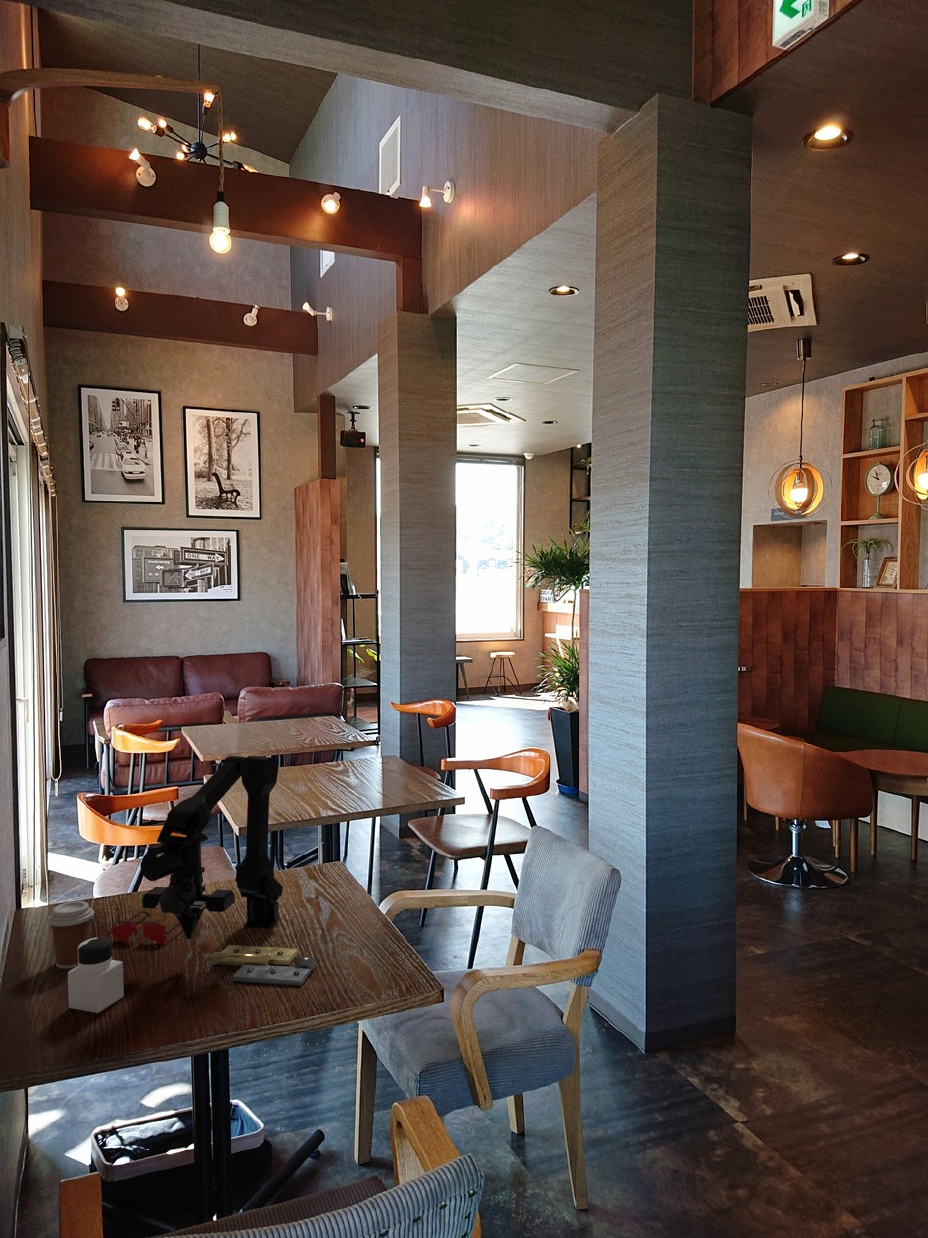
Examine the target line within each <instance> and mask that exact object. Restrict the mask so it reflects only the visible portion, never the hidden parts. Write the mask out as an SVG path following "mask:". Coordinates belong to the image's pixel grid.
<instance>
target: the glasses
mask: <svg viewBox="0 0 928 1238" xmlns="http://www.w3.org/2000/svg"><path fill="white" fill-rule="evenodd" d="M141 914H145V915H147V916H149V917H150V916H151V913H149V912H147V911H145V910H142V911H140V912H138V913H137V914H134V916H131V917H130V918H129V919H128V920H126V921H123V920H119V921H116V922H115V923H114V924H113V927H111V930H110V931H109V934H111V935H112V936H113V937H114V938H116V939H117V940H119V942H126V941H127V940H129V938H130V937H134V936H137V934H138V932H139V931H138V928H137V926H136V925H134V924H142V925H141V927H142V933H143V937H145V938H147V939H149V940H150V941H151V940H152V941H154V942H156V943H158V944H161V945H162V944H164V943H165V941H166V940H167V935H169V934H170V933H171V932H173V931H174V930H175V929H176V928H178V927H179V926H181V924H180V922H179V923H177V924H176V925H175V926H173V927H172V928H171V929H170V930H168V931H167V929H166V927H165V925H164V924H160V923H155V922H142V921H141V922H140V921H132V920H134V919H135V918H136V917H138V916H140V915H141ZM201 918H202V916H201V917H200V919H201ZM119 923H121V924H119ZM116 924H118V925H116ZM132 935H133V936H132Z"/></svg>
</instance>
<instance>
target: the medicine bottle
mask: <svg viewBox="0 0 928 1238" xmlns="http://www.w3.org/2000/svg"><path fill="white" fill-rule="evenodd" d="M112 943H113V942H112V940H111V939H109V938H107V937H100V936H99V937H93V938H90V939H89V940H86V941H84V942H82V943H81V944H80V945H79V946H78V967H74V968H71V969H70V970H69V971H68V972H67V991H68V1008H70V1009H72V1010H79V1011H84V1012H90V1013H94V1014H99V1013H101V1012H102V1011H104V1010H105V1009H106V1008H108V1007H110V1006H111V1005H113V1004H114V1003H116V1002H118V1001H119V1000H121V999H122V998H123V997H124V995H125V993H124V991H125V990H124V963H123V961H121V960H116V959H113V944H112Z"/></svg>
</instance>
